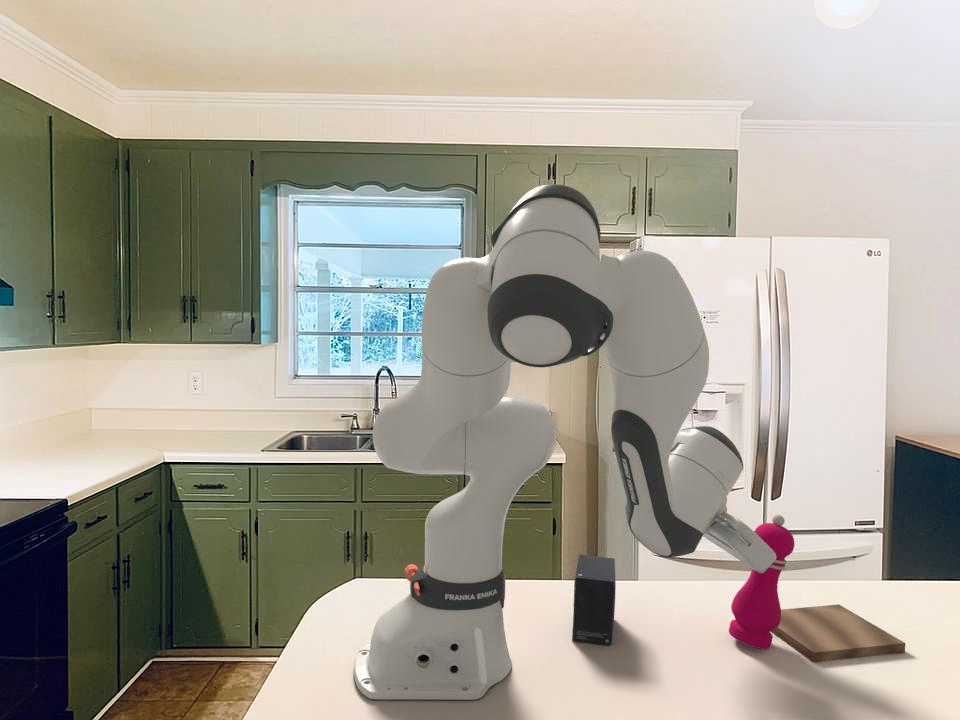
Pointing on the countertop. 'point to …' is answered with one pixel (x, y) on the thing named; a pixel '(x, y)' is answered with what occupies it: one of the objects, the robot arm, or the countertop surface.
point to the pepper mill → (762, 591)
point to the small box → (594, 600)
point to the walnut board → (834, 634)
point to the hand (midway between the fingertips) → (752, 563)
